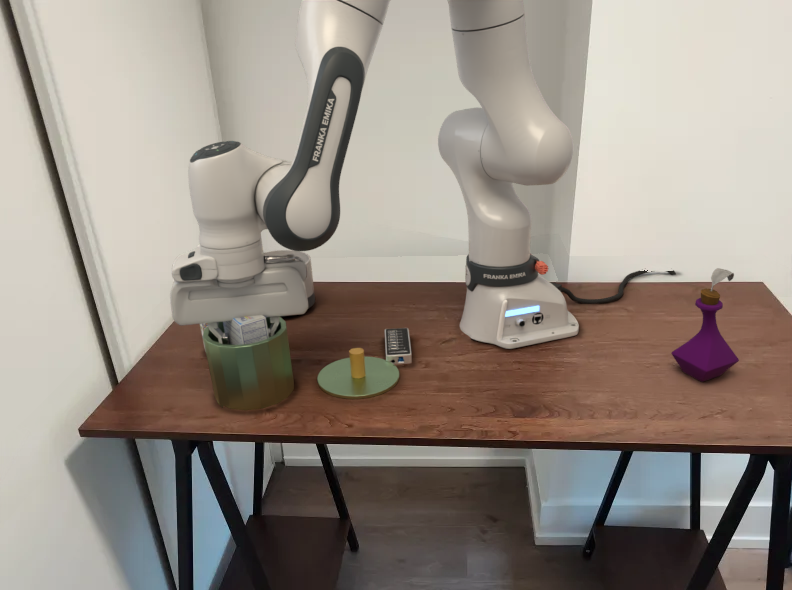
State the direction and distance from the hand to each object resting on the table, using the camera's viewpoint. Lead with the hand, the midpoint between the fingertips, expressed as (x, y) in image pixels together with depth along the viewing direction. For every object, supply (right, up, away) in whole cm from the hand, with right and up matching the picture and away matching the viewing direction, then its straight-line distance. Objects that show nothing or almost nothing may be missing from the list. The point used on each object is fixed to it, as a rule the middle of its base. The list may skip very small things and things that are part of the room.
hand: (247, 343), depth 108 cm
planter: (-1, +9, +34) cm, 36 cm away
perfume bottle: (+74, -5, +6) cm, 74 cm away
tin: (0, -8, +4) cm, 9 cm away
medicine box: (0, -3, +2) cm, 4 cm away
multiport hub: (+23, -1, +16) cm, 28 cm away
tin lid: (+17, -5, +6) cm, 19 cm away
